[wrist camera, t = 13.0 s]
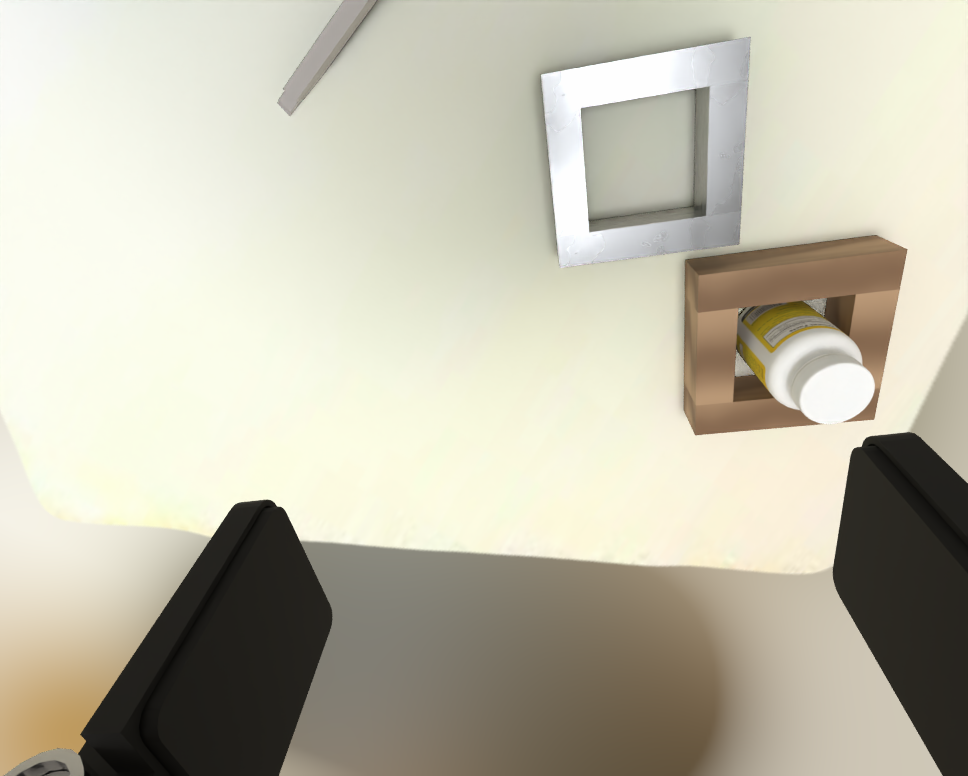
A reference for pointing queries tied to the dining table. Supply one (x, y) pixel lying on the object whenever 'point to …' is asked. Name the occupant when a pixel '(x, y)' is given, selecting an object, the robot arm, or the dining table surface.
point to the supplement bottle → (805, 361)
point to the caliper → (324, 52)
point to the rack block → (771, 280)
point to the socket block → (716, 152)
